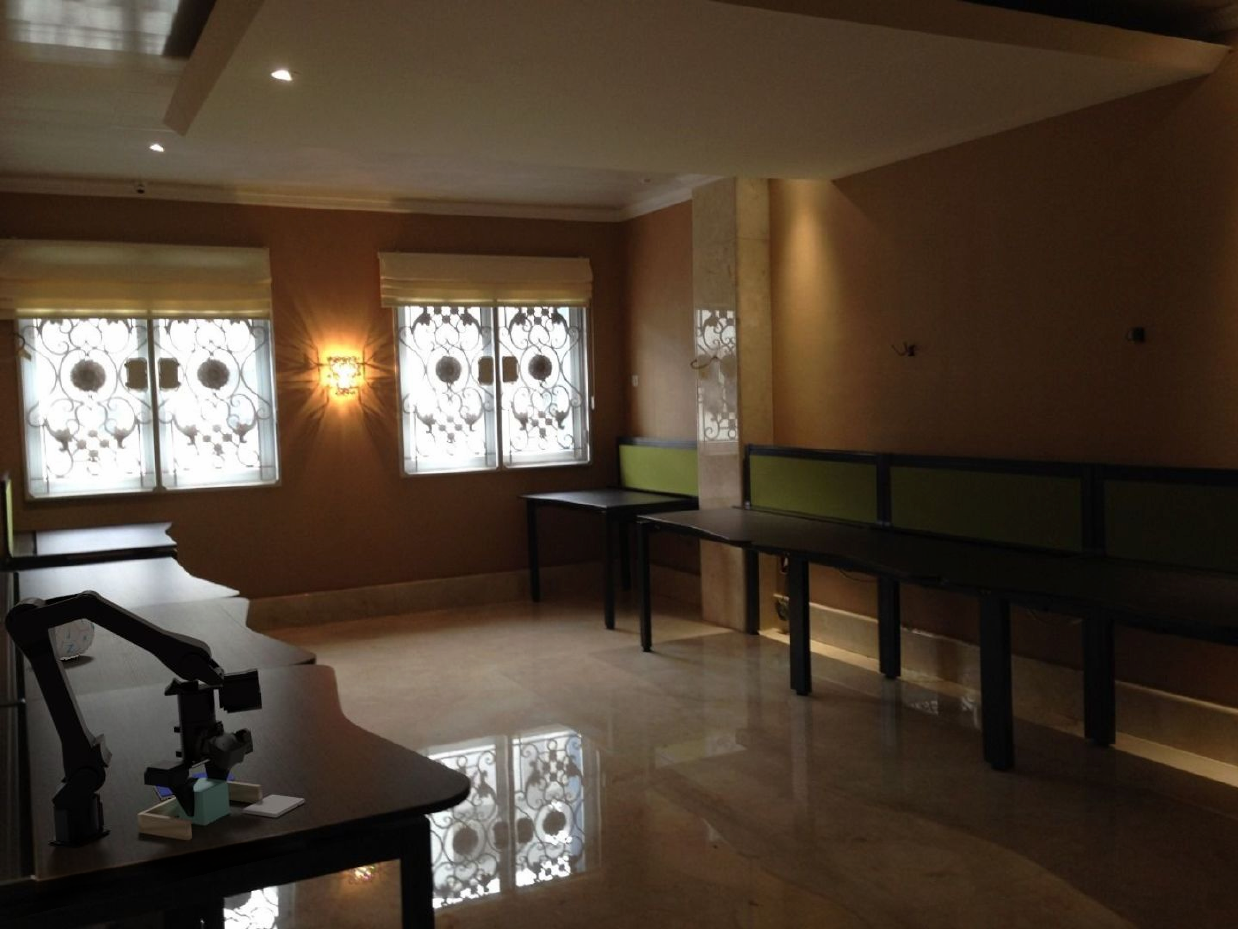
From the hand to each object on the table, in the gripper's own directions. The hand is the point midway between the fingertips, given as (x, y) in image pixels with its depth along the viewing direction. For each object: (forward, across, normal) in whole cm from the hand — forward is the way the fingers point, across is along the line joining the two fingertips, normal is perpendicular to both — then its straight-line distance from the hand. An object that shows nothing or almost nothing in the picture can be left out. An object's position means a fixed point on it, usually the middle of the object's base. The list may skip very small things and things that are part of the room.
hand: (204, 810), depth 181 cm
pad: (+1, +7, -8) cm, 11 cm away
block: (+1, 0, 0) cm, 1 cm away
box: (+1, 0, 0) cm, 1 cm away
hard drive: (+2, +11, +13) cm, 17 cm away
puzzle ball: (+2, +78, +128) cm, 150 cm away
